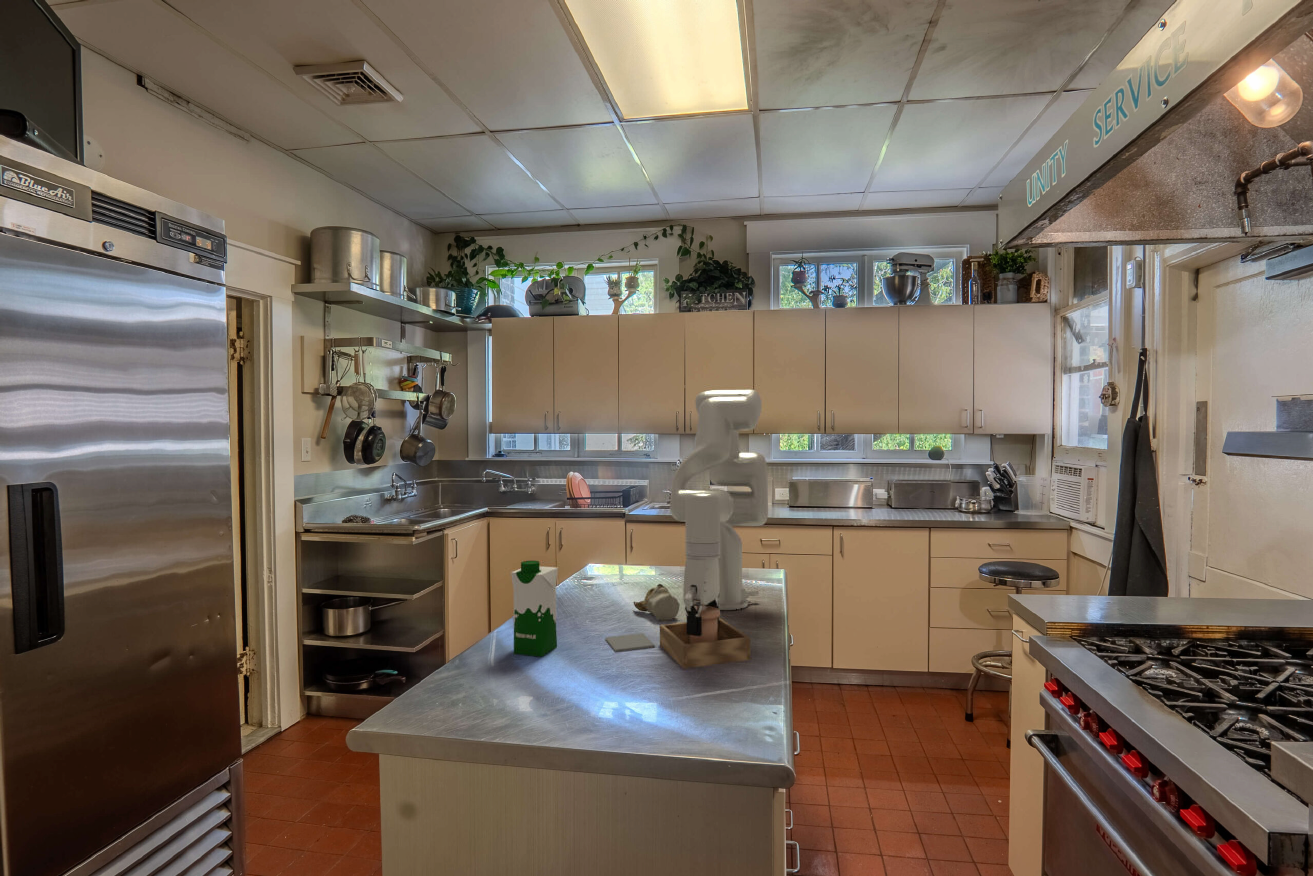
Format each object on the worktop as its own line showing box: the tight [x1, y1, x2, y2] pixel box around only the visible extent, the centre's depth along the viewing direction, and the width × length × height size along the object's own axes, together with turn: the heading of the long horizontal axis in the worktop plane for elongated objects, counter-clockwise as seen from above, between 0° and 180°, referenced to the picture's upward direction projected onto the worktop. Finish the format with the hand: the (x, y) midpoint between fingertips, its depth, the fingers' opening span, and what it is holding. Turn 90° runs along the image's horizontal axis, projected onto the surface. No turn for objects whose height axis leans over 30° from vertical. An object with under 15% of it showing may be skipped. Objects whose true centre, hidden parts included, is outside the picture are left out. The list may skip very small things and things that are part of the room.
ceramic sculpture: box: [633, 583, 680, 622], centre depth 171 cm, size 11×9×15 cm
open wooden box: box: [659, 618, 752, 669], centre depth 141 cm, size 15×15×5 cm
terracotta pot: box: [690, 606, 721, 644], centre depth 141 cm, size 7×7×9 cm
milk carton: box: [510, 560, 559, 658], centre depth 144 cm, size 9×9×20 cm
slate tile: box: [605, 632, 656, 653], centre depth 147 cm, size 9×9×1 cm
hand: (703, 629), depth 140 cm, fingers open, 9 cm apart
